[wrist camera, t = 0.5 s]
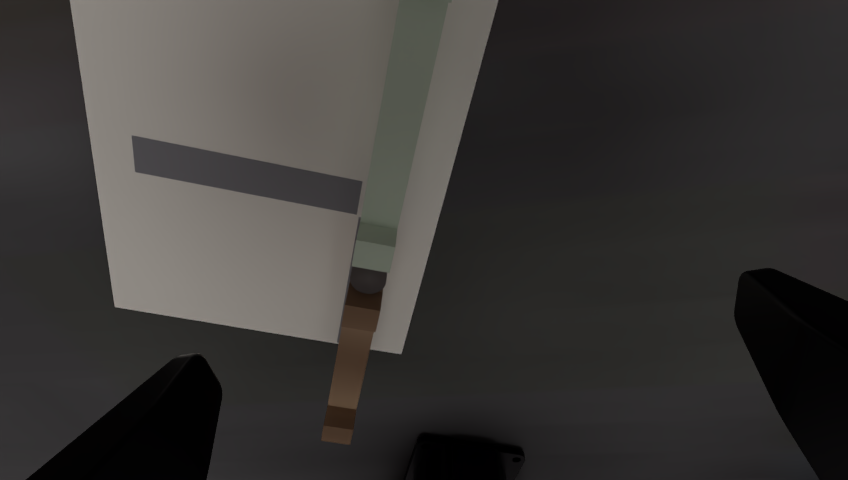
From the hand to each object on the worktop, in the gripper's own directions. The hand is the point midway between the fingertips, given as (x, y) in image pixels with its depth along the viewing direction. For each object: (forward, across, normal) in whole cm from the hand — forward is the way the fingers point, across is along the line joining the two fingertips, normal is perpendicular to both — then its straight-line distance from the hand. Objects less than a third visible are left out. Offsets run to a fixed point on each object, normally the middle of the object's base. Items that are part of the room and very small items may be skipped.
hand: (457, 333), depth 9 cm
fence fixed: (+13, +5, +7) cm, 16 cm away
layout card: (+13, +7, +1) cm, 15 cm away
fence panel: (+12, +1, -1) cm, 12 cm away
